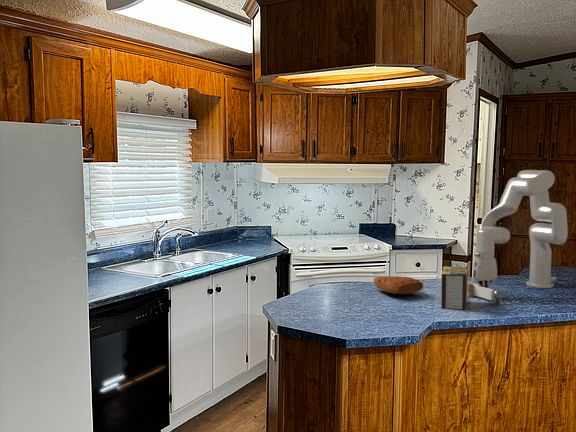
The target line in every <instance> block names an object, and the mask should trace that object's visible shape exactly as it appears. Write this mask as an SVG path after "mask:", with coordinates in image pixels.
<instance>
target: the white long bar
mask: <svg viewBox="0 0 576 432" xmlns="http://www.w3.org/2000/svg"><path fill="white" fill-rule="evenodd" d="M494 290H495V289H493V288H492V289H491V288H489V287H488V288H485V287H482V286H481V285H477V284H475V283H474V284H473V296H475V297H476V296H477V297H478V298H483V299H484V300H485V299H486V300H488V301H494Z"/></svg>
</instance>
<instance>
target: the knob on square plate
mask: <svg viewBox="0 0 576 432" xmlns="http://www.w3.org/2000/svg"><path fill="white" fill-rule="evenodd" d="M493 290H494V300H492V301H488V304H489V305H493V306H496V307H499V306H505V305H506V303H505V302H502V301H501V290H499V289H493Z"/></svg>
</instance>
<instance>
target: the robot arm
mask: <svg viewBox="0 0 576 432" xmlns="http://www.w3.org/2000/svg"><path fill="white" fill-rule="evenodd" d="M555 179H556V178H555V174H554V173H553V171H551V170H546V169H545V170H544V169H540V170H538V169H537V170H536V169H525V170H520V171H519V172H518V173H517V176H516V177H515V176H514V177H512V178H510V179H509V180H508V181H507V184H506V185H505V188H504V190H503V193H502V195H501V197H500V200H499V203H498V204H497V205H495V207H494V208H491V210H489V212H488V213H487V214H485V216H483V218H482V221H481V223H480V226H479V228H478V229H477V230H476V252H475V253H474V254H473V255H474V263H473V269H472V276H473V283H474V284H475V283H476V284H479V285H478V286H482V287H485V288H489V287H490V285H491V283H493V282H496V280H497V279H498V265H497V259H496V257H495V244H501V245H502V244H506V243H507V242H508V241H509V240H510V238H511V232H510V231H509V229H507V228H505V227H503V226H494V225H495V223H496V222H497V221H499V220H500V219H502V218H504V217H507V216H510V215H512V214H514V213H516V212H517V211H518V208H519V207H520V204H521V201H522V199H523V198H524V197H523V196H529V204H530V205H529V206H530V207H529V208H530V215H531V218H532V219H533V221H538V222H536V223H533V224H532V225H530V227H529V229H528V230H529V231H528V235H529V236H528V237H529V243H530V254H529V255H530V256H529V257H530V258H529V280H526V281H525V285H526V286H528V287H532V288H539V289H550V288H554V283H553V281H556V280H557V277H556V276H551V273H552V255H553V254H552V248H551V246H550V244H553V245H563V244H565V243H566V241H567V239H568V217H567V209H566V208H565V206H564V205H563V204H561V203H558V202H551V201H550V196H549V195H550V194H549V189H550V188H551V187H552V186H553V185H554V184H555ZM545 222H546V223H545Z"/></svg>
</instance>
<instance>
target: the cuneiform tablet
mask: <svg viewBox="0 0 576 432" xmlns="http://www.w3.org/2000/svg"><path fill="white" fill-rule="evenodd" d="M373 281H374V284H375V286H376V288H378V289H380V290H382V291H383V292H385V293H389V294H393V295H395V294H396V295H407V294H413V293H416V292H419V291H421V290H423V288H424V283H423V282H422V281H420V280H419V279H416V278H413V277H410V276H409V277H408V276H396V275H395V276H391V275H385V276H376V277H375V278H373Z"/></svg>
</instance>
